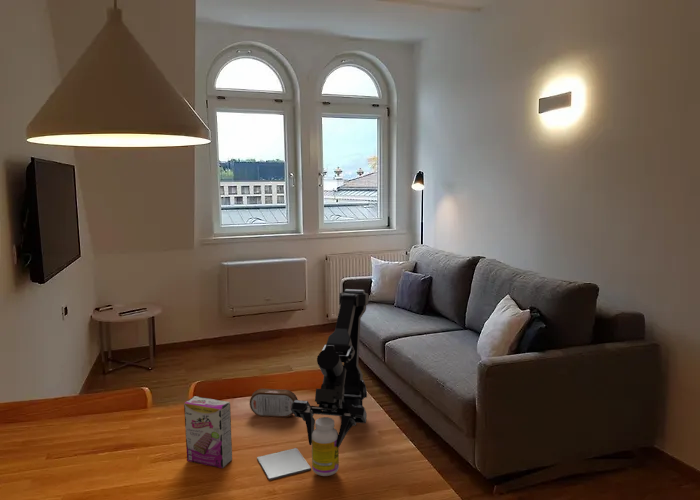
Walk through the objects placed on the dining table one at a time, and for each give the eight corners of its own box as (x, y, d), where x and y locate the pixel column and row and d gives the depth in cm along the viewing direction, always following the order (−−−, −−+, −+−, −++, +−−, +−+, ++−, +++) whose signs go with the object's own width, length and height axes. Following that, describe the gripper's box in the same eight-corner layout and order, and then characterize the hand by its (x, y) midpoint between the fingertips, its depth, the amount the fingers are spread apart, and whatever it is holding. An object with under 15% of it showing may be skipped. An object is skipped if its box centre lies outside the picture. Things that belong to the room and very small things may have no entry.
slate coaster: (296, 449, 144) (296, 447, 144) (311, 469, 134) (311, 467, 134) (257, 458, 140) (257, 457, 139) (269, 480, 130) (269, 478, 130)
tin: (298, 414, 165) (298, 388, 164) (296, 419, 162) (296, 393, 161) (251, 412, 167) (250, 387, 166) (248, 417, 164) (248, 391, 163)
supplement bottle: (338, 477, 129) (337, 428, 127) (311, 477, 129) (310, 428, 127) (339, 462, 136) (338, 415, 134) (313, 462, 136) (312, 415, 134)
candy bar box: (185, 462, 138) (182, 402, 136) (197, 452, 143) (194, 395, 141) (222, 469, 135) (220, 408, 132) (233, 459, 139) (231, 400, 137)
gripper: (292, 370, 134) (279, 432, 125) (364, 375, 131) (356, 439, 122) (301, 387, 143) (290, 446, 134) (369, 392, 139) (362, 453, 130)
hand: (323, 445), depth 130 cm, fingers closed on supplement bottle, 7 cm apart
